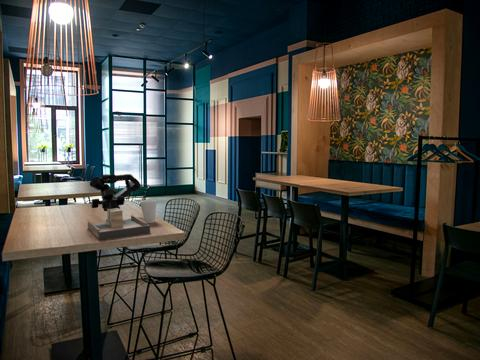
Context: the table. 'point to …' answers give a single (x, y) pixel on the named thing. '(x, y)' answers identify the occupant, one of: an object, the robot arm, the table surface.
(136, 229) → the grey flat rectangular tray
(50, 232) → the table surface
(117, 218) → the birch brick
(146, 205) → the foam cup
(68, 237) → the table surface
